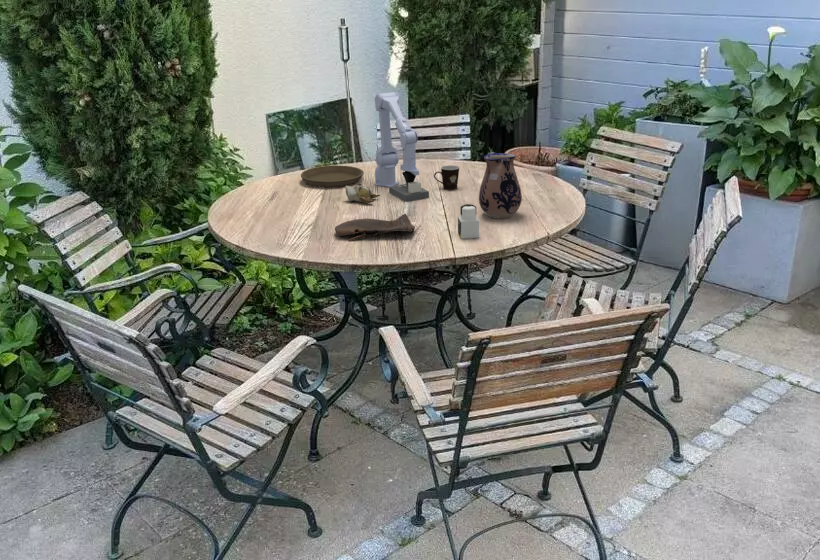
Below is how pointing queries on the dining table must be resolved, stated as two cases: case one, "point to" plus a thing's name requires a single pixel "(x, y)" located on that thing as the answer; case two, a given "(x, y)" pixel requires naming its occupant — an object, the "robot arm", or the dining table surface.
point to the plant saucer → (332, 176)
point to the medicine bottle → (468, 222)
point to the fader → (414, 187)
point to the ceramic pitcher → (500, 186)
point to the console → (407, 193)
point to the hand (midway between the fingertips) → (410, 187)
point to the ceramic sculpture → (360, 194)
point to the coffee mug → (449, 177)
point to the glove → (373, 226)
